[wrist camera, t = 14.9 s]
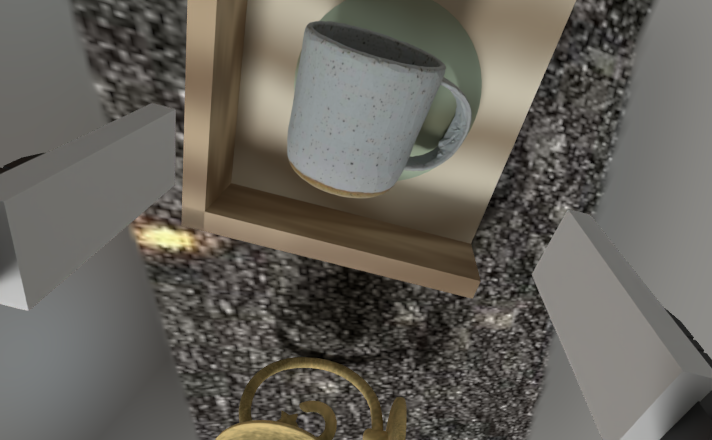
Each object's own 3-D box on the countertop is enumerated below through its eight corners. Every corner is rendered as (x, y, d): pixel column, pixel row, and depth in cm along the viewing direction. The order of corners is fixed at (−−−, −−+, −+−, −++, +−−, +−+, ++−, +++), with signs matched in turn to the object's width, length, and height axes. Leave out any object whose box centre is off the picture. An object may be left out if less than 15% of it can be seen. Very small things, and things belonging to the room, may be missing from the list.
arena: (236, -130, 23) (192, -162, 18) (586, -37, 23) (633, -45, 19) (214, 191, 33) (181, 225, 28) (462, 254, 33) (472, 298, 28)
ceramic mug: (295, 141, 29) (265, 187, 22) (320, 14, 25) (292, 23, 19) (441, 182, 30) (454, 238, 23) (488, 64, 26) (520, 90, 19)
